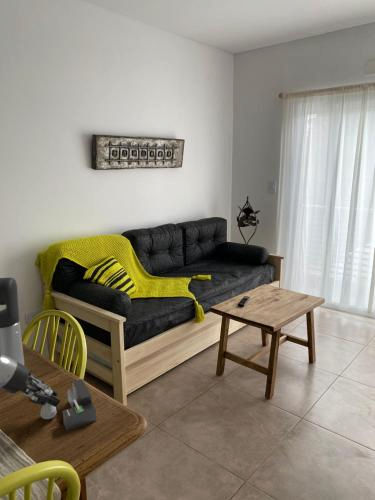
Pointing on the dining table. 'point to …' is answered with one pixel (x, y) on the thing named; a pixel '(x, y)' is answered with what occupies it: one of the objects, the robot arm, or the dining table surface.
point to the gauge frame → (84, 401)
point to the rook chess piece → (48, 408)
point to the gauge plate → (72, 399)
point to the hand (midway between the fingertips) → (56, 399)
